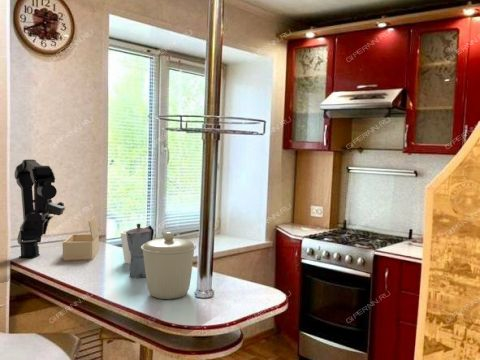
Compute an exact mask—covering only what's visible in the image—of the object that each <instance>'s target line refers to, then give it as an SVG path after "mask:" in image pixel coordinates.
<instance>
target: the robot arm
mask: <svg viewBox="0 0 480 360" xmlns="http://www.w3.org/2000/svg"><path fill="white" fill-rule="evenodd" d="M14 179H15V180H16V184H17V185H18V187H19V188H20V192H21V203H22V204H21V206H22V218H23V219H22V220H23V221H22V223H21V224H20V226H19V231H18V235H17V239H16V240H17V244H18V245H20V255H19V256H18V258H19V259H20V258H23V259H33V258H36V257H38V256H40V255H41V254H40V247H39V245H38V244H39V243H41V242H42V237H43V235H46V233H47V230H48V226H49V223H50V221H51V220H52V219H53V218H54V216H61V215H63V213H64V211H65V210H66V206H65V204H64V202H62V201H59V202H57V203H56V202H55V203H54V202H53V200H52V199H54V198H55V197H56V195H57V188H56V186H55V185H53V184H55V183H56V182H55V181H56V178H55V173H54V171H53V169H52V168H51V167H50V165H42V164H40V163H39V162H37V160H35V159H23V160H22V161H21V163H20V164H18V165H17V166H16V167H15V170H14ZM51 215H54V216H51Z"/></svg>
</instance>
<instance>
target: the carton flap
mask: <svg viewBox="0 0 480 360" xmlns="http://www.w3.org/2000/svg"><path fill="white" fill-rule="evenodd" d="M88 227H89V231H90V234H91V237H92V240H93V239H94V238H95V237H96V236H97V235H98V234H99V235H100V233H99V227H98V223H97V217H96V215H95V216H93V217H92V218H90V220H89V221H88Z"/></svg>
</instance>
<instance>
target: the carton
mask: <svg viewBox="0 0 480 360" xmlns="http://www.w3.org/2000/svg"><path fill="white" fill-rule="evenodd" d="M99 251H100V233H99V234H98V235H97V236H96V237H95V238H94V239H93V240H92V237H91V233H78V234H77V233H74V234H71V235H70V236H68V237H67V238H66V239H64V241H63V242H62V259H63V261H64V262H65V261H93V260H94V258H95V257H96V255H98V253H99Z"/></svg>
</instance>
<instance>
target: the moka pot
mask: <svg viewBox="0 0 480 360" xmlns="http://www.w3.org/2000/svg"><path fill="white" fill-rule="evenodd" d="M135 225H136V227H135V228H132V229H128V230H129V231H127V230H126V231H127V232H126V235H127V241H128V247H129V251H130V255H131V262H130V264H129V277H131V278H136V279H138V278H139V279H141V278H142V279H143V278H146V273H145V264H144V255H143V250H142V249H141V246H142V245H144V244H145V243H146V242H148V241H151V240H154V235H155V230H154V228H153V227H152V225H148V226H147V227H141V225H142V224H141V223H137V224H135Z"/></svg>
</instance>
